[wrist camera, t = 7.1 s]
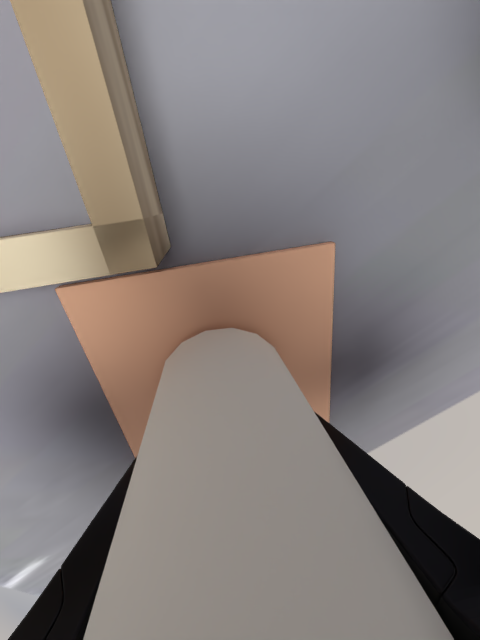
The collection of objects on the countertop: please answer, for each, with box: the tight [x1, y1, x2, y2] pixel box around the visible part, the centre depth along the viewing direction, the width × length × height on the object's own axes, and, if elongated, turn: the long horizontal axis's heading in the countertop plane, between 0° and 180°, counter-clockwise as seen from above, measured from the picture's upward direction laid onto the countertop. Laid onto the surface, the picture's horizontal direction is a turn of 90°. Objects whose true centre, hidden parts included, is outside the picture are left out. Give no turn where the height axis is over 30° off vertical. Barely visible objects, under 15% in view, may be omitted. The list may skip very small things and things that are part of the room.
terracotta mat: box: [55, 242, 335, 458], centre depth 12 cm, size 11×11×1 cm
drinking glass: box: [83, 328, 454, 640], centre depth 7 cm, size 7×7×10 cm
